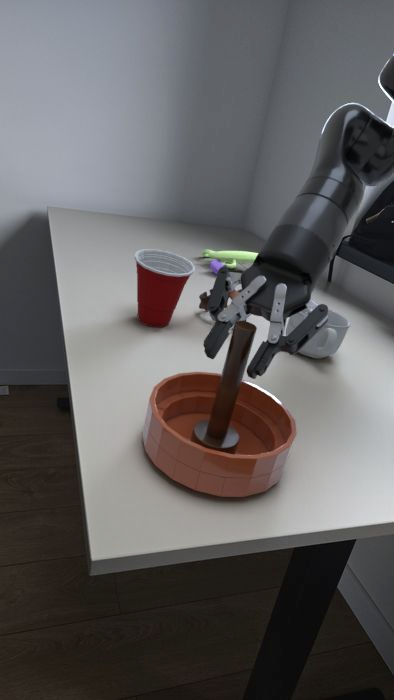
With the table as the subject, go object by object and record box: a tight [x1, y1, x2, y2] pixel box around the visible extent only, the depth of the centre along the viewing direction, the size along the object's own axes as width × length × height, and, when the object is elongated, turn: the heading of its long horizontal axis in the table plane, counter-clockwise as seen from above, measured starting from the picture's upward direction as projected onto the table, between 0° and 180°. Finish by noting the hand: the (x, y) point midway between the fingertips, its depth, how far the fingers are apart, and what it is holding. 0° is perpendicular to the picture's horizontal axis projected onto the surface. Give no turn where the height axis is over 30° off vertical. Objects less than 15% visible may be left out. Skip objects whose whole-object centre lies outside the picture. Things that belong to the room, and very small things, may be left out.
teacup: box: [285, 308, 351, 359], centre depth 91 cm, size 14×11×8 cm
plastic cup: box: [133, 248, 196, 328], centre depth 88 cm, size 11×11×12 cm
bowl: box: [141, 371, 298, 498], centre depth 59 cm, size 17×17×6 cm
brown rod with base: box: [191, 320, 258, 454], centre depth 56 cm, size 6×6×16 cm
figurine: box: [201, 249, 259, 276], centre depth 131 cm, size 18×27×6 cm
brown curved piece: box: [198, 288, 247, 322], centre depth 99 cm, size 12×10×8 cm
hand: (229, 364), depth 53 cm, fingers open, 4 cm apart
